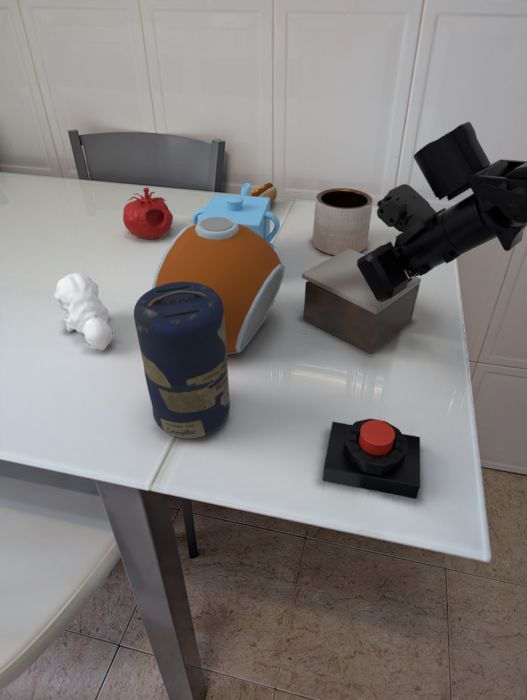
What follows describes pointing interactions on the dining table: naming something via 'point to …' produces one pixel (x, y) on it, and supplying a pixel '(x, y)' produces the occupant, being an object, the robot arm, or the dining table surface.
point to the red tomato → (147, 216)
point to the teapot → (242, 212)
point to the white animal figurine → (84, 309)
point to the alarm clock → (227, 272)
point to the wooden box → (357, 317)
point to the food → (265, 192)
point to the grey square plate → (350, 281)
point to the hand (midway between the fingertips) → (369, 277)
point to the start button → (376, 437)
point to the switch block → (373, 462)
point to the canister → (184, 357)
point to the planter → (342, 220)
